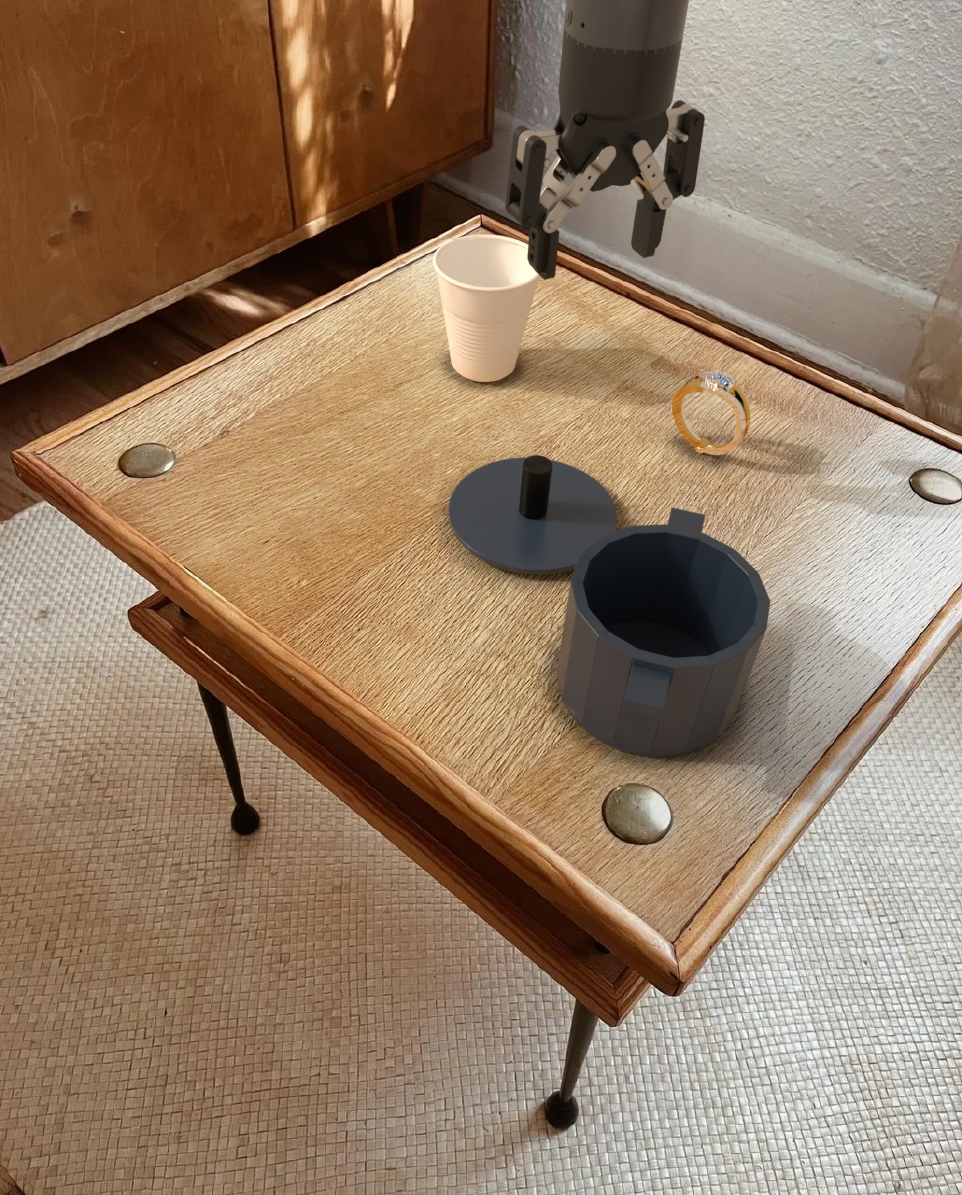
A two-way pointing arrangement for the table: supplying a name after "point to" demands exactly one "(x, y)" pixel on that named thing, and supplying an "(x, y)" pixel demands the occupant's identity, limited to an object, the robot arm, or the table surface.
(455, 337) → the cup
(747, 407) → the ring
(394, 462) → the table surface
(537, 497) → the lid
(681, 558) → the pot
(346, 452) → the table surface
